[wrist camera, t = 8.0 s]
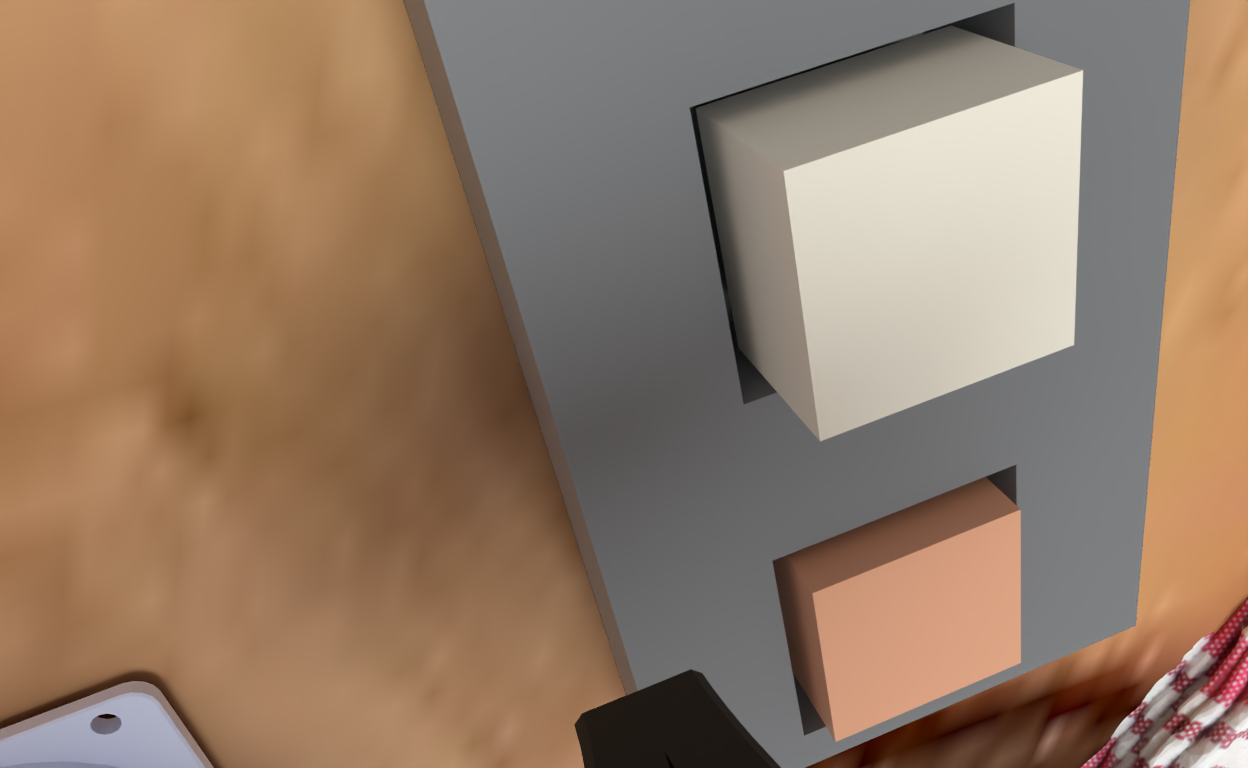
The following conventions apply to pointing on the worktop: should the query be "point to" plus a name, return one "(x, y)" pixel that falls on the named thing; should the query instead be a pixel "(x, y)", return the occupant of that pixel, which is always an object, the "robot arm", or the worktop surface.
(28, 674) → the worktop surface
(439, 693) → the worktop surface
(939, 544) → the terracotta button
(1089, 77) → the button console
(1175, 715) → the dish towel
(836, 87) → the cream button
